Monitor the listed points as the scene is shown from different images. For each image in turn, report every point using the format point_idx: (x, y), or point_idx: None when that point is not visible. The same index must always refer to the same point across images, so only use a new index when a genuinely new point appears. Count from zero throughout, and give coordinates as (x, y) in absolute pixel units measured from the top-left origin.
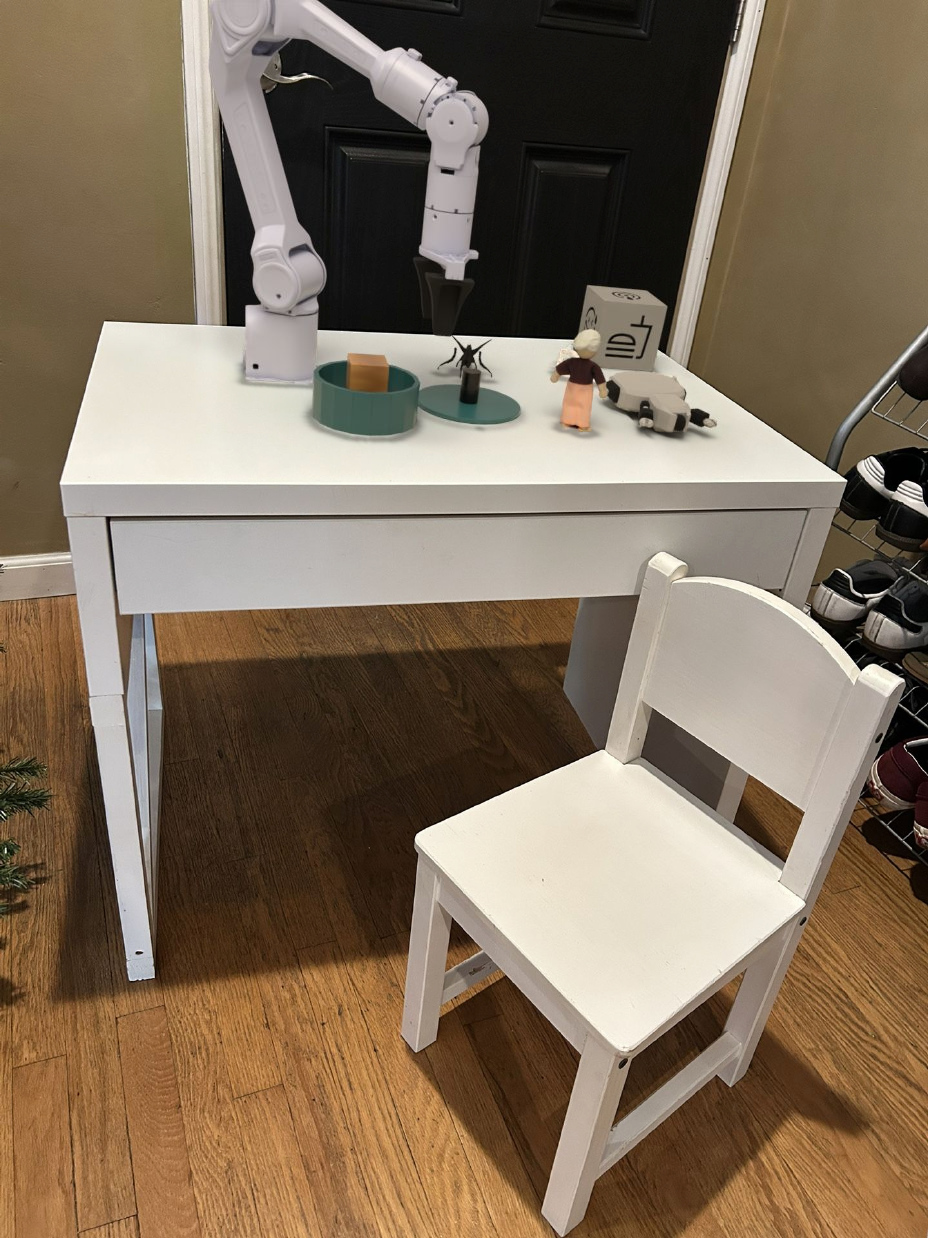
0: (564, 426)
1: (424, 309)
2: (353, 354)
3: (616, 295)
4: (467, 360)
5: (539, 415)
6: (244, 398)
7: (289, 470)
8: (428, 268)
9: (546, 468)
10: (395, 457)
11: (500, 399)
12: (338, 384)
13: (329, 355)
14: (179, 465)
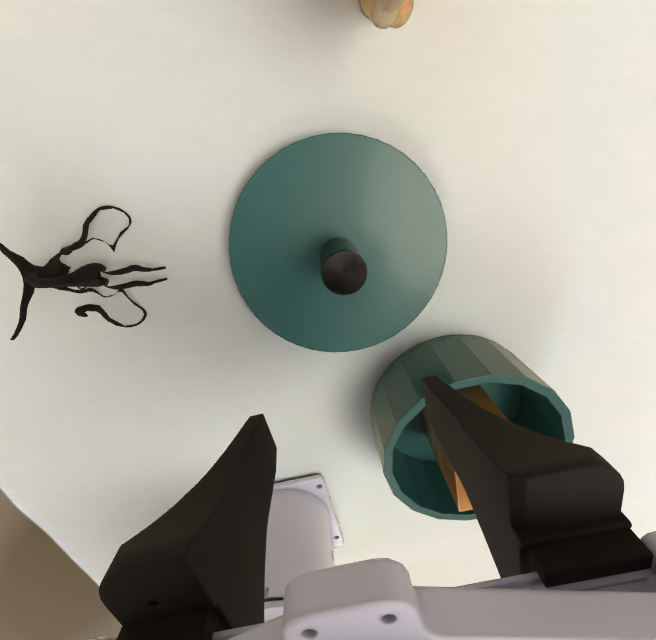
0: (410, 5)
1: (274, 467)
2: (467, 503)
3: None
4: (95, 275)
5: (314, 78)
6: (399, 530)
7: (631, 450)
8: (250, 602)
9: (639, 77)
10: (588, 348)
11: (297, 184)
12: (401, 467)
13: (154, 486)
14: None
